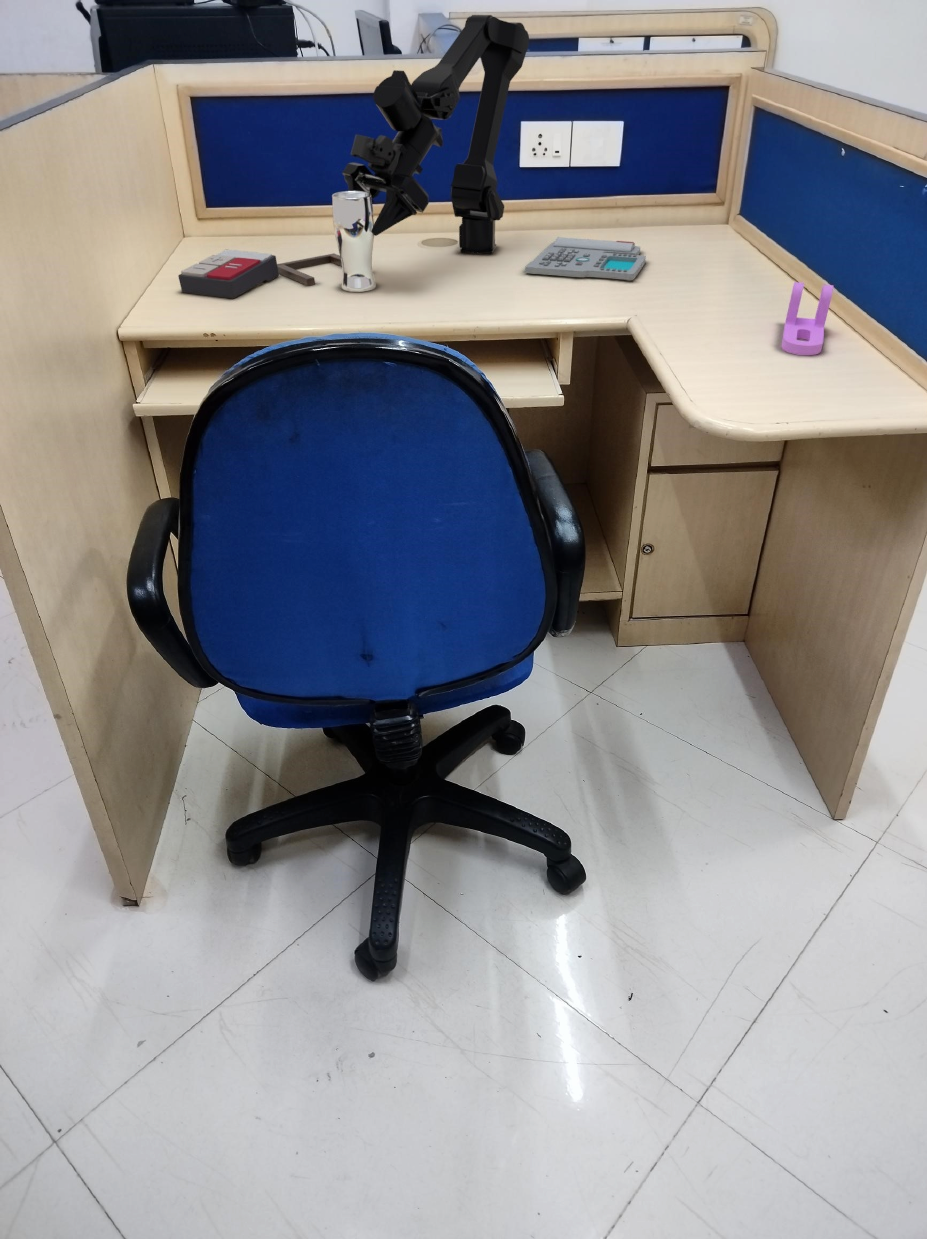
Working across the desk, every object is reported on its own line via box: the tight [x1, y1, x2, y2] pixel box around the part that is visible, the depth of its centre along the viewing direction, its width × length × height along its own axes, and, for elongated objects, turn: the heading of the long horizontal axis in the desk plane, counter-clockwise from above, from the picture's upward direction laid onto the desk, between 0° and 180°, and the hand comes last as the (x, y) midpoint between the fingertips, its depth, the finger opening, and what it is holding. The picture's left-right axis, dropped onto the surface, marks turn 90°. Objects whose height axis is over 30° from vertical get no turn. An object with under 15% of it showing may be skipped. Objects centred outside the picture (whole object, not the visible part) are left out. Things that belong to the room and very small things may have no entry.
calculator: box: [177, 248, 279, 299], centre depth 151 cm, size 11×4×15 cm
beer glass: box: [331, 190, 377, 293], centre depth 146 cm, size 7×7×15 cm
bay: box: [277, 253, 342, 287], centre depth 158 cm, size 12×13×1 cm
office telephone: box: [524, 236, 647, 281], centre depth 162 cm, size 23×3×20 cm
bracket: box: [780, 281, 834, 356], centre depth 125 cm, size 13×6×7 cm, turn 160°
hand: (358, 229), depth 145 cm, fingers open, 9 cm apart
